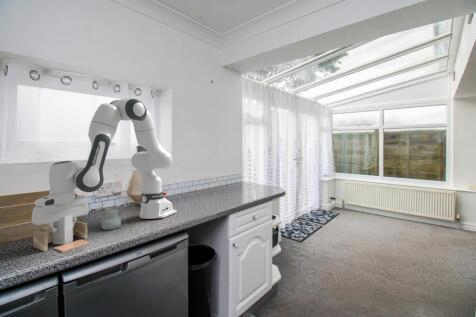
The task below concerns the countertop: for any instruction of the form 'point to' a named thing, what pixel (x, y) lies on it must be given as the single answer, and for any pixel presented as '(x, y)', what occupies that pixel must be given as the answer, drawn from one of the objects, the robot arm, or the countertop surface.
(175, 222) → the countertop surface
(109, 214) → the air freshener
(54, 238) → the skincare box
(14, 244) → the countertop surface
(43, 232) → the open wooden frame
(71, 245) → the tile
